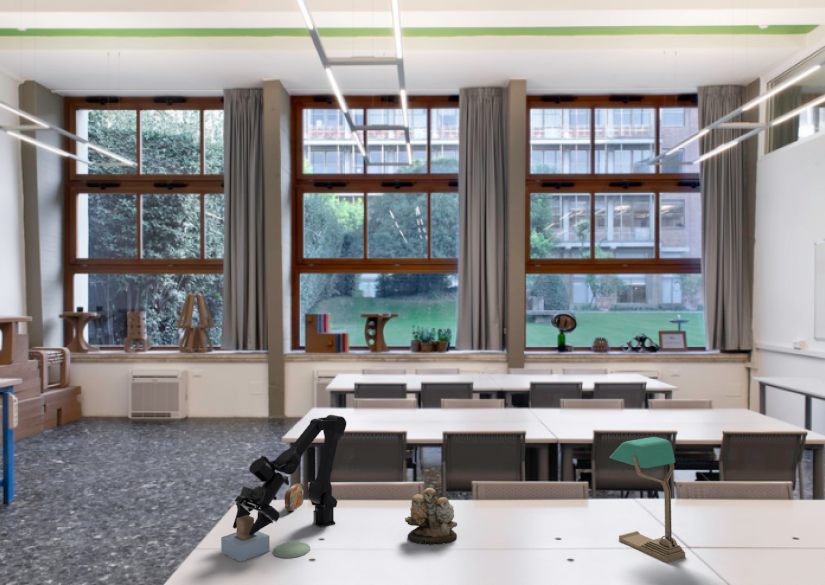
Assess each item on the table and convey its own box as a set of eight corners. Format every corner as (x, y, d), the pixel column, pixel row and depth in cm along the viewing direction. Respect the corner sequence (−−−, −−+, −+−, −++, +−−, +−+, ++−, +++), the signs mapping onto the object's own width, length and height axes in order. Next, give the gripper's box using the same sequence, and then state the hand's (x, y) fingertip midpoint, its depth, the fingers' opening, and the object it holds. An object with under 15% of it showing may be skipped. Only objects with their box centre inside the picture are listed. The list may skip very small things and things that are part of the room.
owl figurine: (406, 546, 204) (405, 495, 205) (403, 533, 216) (402, 484, 217) (459, 543, 206) (458, 492, 206) (454, 530, 218) (453, 482, 218)
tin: (290, 514, 236) (290, 492, 236) (283, 513, 237) (282, 491, 237) (305, 501, 251) (305, 480, 251) (298, 501, 252) (297, 480, 252)
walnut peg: (247, 542, 204) (247, 515, 204) (254, 545, 201) (254, 517, 202) (236, 545, 201) (236, 518, 201) (243, 549, 198) (243, 521, 199)
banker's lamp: (658, 565, 188) (656, 450, 188) (607, 541, 207) (606, 437, 207) (693, 554, 195) (691, 444, 196) (641, 532, 214) (639, 432, 214)
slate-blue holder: (250, 542, 209) (250, 527, 209) (269, 550, 202) (269, 535, 202) (221, 552, 201) (221, 537, 201) (240, 561, 194) (240, 546, 194)
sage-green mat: (304, 540, 210) (304, 539, 210) (314, 553, 199) (314, 552, 199) (269, 547, 205) (269, 546, 205) (278, 561, 194) (278, 559, 194)
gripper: (239, 471, 211) (210, 512, 202) (271, 481, 198) (242, 525, 190) (259, 488, 216) (231, 529, 208) (291, 499, 204) (264, 543, 196)
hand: (241, 531), depth 200 cm, fingers open, 9 cm apart
